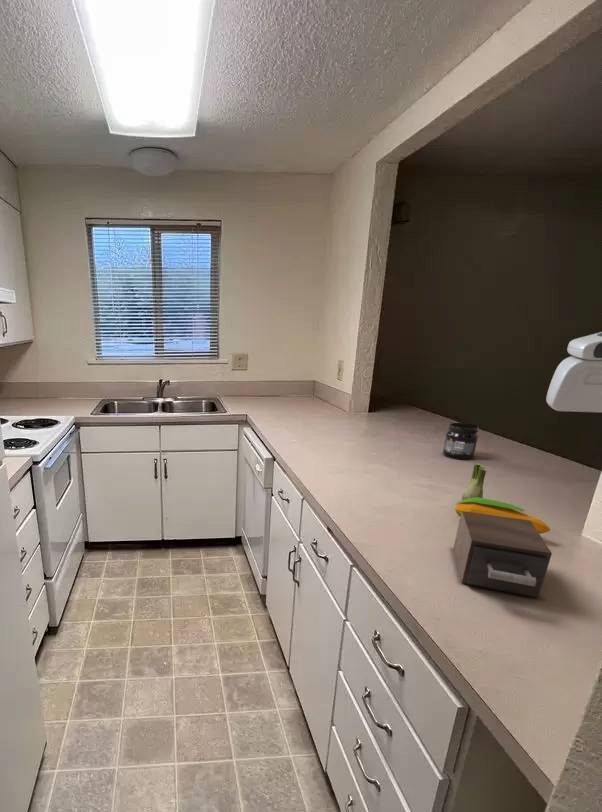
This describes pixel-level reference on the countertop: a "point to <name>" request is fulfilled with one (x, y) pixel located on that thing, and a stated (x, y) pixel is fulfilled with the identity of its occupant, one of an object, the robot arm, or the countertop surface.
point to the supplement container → (460, 441)
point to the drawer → (506, 570)
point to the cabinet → (496, 539)
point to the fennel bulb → (475, 483)
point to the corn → (498, 511)
